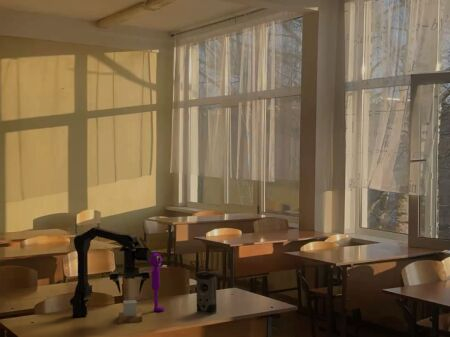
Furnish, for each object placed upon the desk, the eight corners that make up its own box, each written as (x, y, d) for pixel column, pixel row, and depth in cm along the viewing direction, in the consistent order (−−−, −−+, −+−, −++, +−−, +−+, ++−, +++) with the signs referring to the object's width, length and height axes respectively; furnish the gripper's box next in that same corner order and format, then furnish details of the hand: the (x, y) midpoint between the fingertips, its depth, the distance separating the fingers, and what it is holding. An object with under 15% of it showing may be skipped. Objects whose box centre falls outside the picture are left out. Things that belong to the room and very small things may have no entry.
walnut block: (118, 323, 285) (118, 317, 285) (118, 318, 295) (118, 312, 295) (142, 322, 286) (141, 316, 286) (141, 317, 296) (141, 311, 296)
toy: (153, 317, 290) (152, 254, 292) (138, 317, 292) (137, 254, 293) (173, 304, 324) (172, 248, 325) (159, 304, 325) (158, 248, 327)
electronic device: (195, 312, 303) (195, 272, 303) (201, 310, 308) (201, 270, 308) (211, 314, 298) (211, 273, 299) (217, 312, 304) (217, 272, 304)
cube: (123, 316, 287) (123, 303, 287) (123, 313, 293) (123, 300, 293) (136, 315, 288) (136, 302, 288) (136, 312, 294) (136, 300, 294)
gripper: (109, 263, 281) (109, 297, 281) (150, 262, 284) (150, 296, 284) (109, 260, 292) (110, 293, 292) (149, 259, 295) (149, 291, 295)
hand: (129, 293), depth 291 cm, fingers open, 9 cm apart
